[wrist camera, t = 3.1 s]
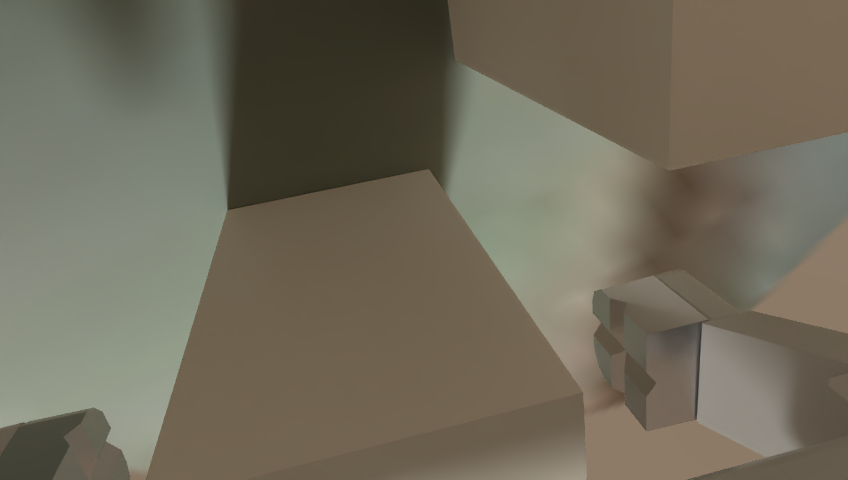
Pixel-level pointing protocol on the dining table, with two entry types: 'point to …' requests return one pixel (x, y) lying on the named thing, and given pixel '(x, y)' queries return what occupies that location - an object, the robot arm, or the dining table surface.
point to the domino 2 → (670, 69)
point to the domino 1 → (365, 351)
